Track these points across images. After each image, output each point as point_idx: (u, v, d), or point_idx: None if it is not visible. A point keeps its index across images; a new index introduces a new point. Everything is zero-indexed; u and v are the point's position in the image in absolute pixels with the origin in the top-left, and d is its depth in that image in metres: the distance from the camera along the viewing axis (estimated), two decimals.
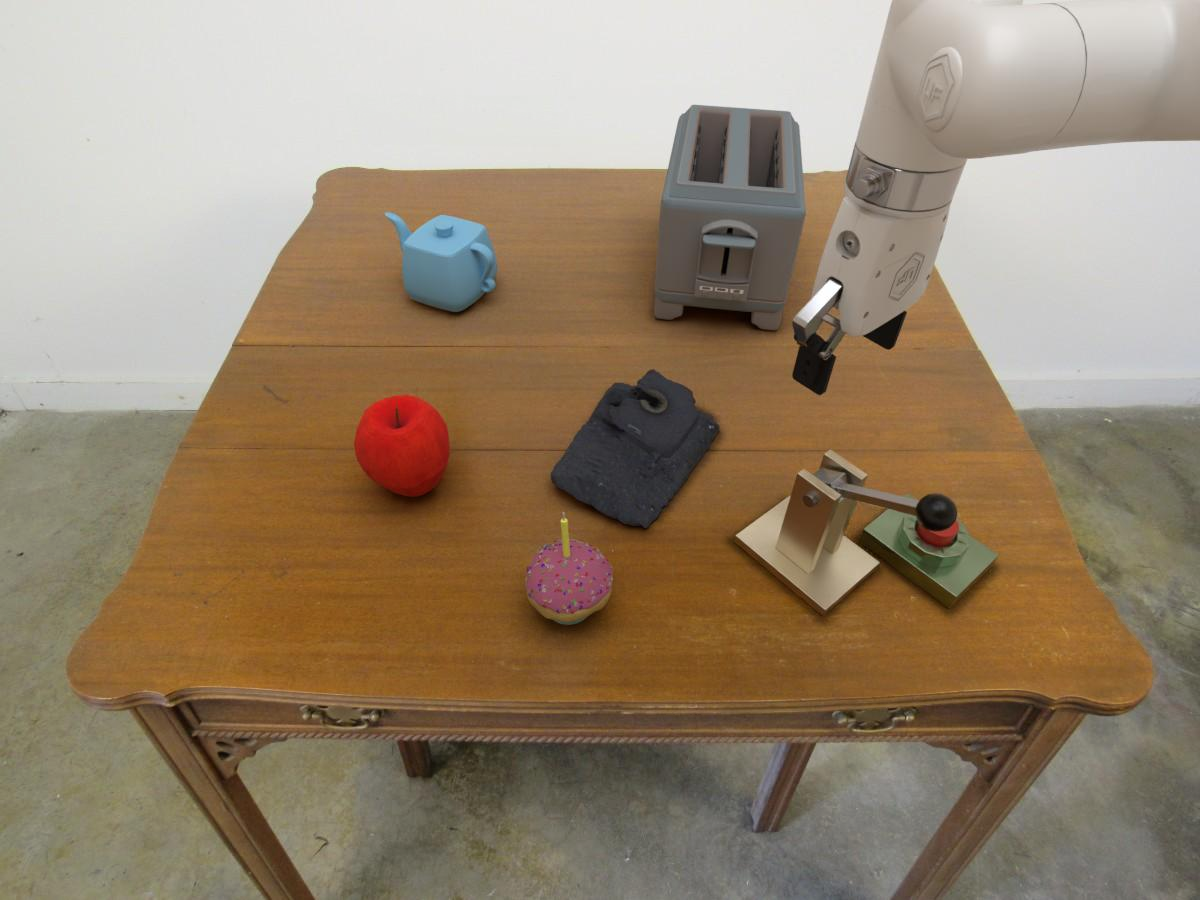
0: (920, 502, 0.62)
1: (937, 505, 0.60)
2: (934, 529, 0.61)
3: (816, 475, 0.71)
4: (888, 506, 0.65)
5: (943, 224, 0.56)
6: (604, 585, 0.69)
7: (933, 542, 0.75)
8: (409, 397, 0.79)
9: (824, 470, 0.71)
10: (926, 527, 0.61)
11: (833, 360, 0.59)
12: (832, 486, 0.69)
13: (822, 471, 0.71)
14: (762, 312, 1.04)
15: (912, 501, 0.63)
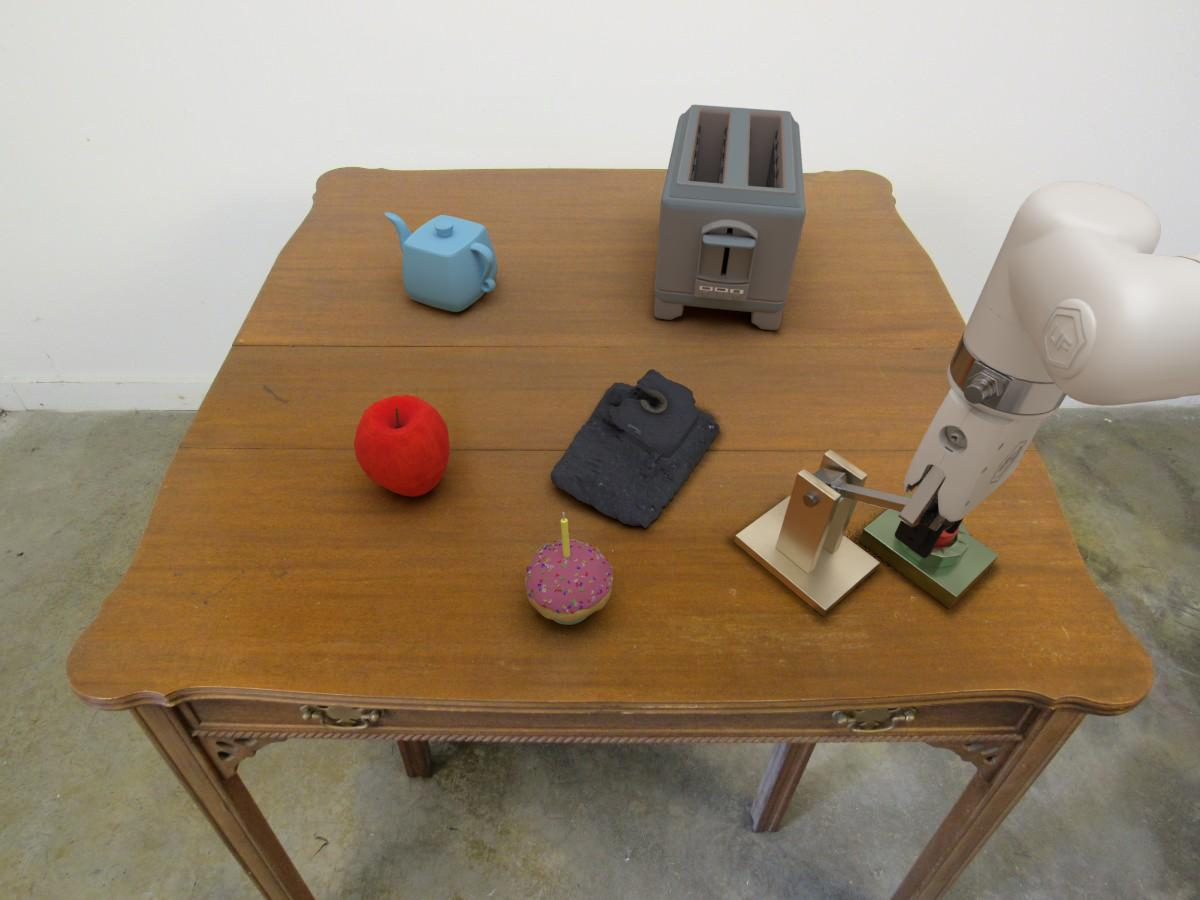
0: None
1: (937, 505, 0.60)
2: None
3: (816, 475, 0.71)
4: (888, 506, 0.65)
5: None
6: (604, 585, 0.69)
7: None
8: (409, 397, 0.79)
9: (824, 470, 0.71)
10: None
11: (942, 530, 0.59)
12: (832, 486, 0.69)
13: (822, 471, 0.71)
14: (762, 312, 1.04)
15: None
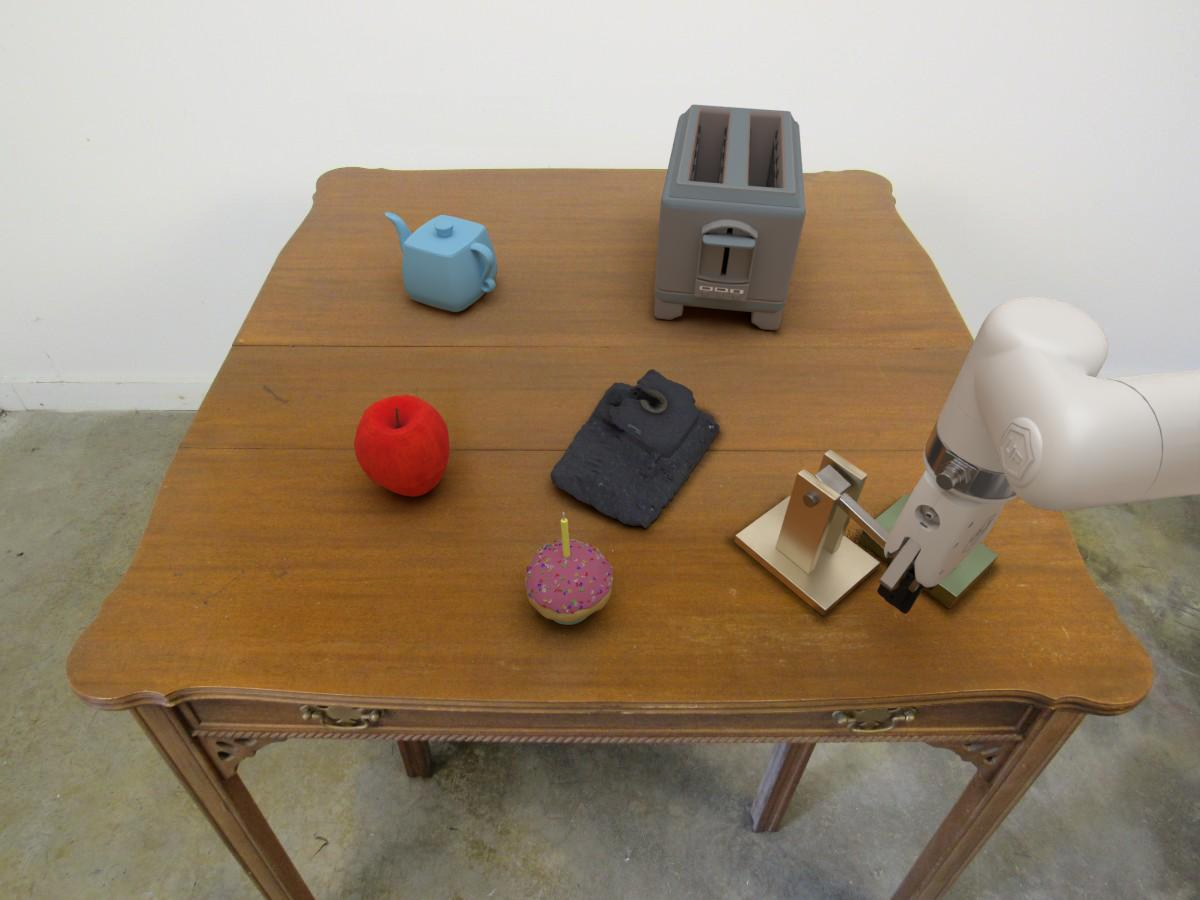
0: None
1: None
2: None
3: (824, 474, 0.70)
4: (879, 542, 0.68)
5: None
6: (604, 585, 0.69)
7: None
8: (409, 397, 0.79)
9: (832, 470, 0.70)
10: None
11: (920, 590, 0.64)
12: None
13: (830, 471, 0.70)
14: (762, 312, 1.04)
15: None
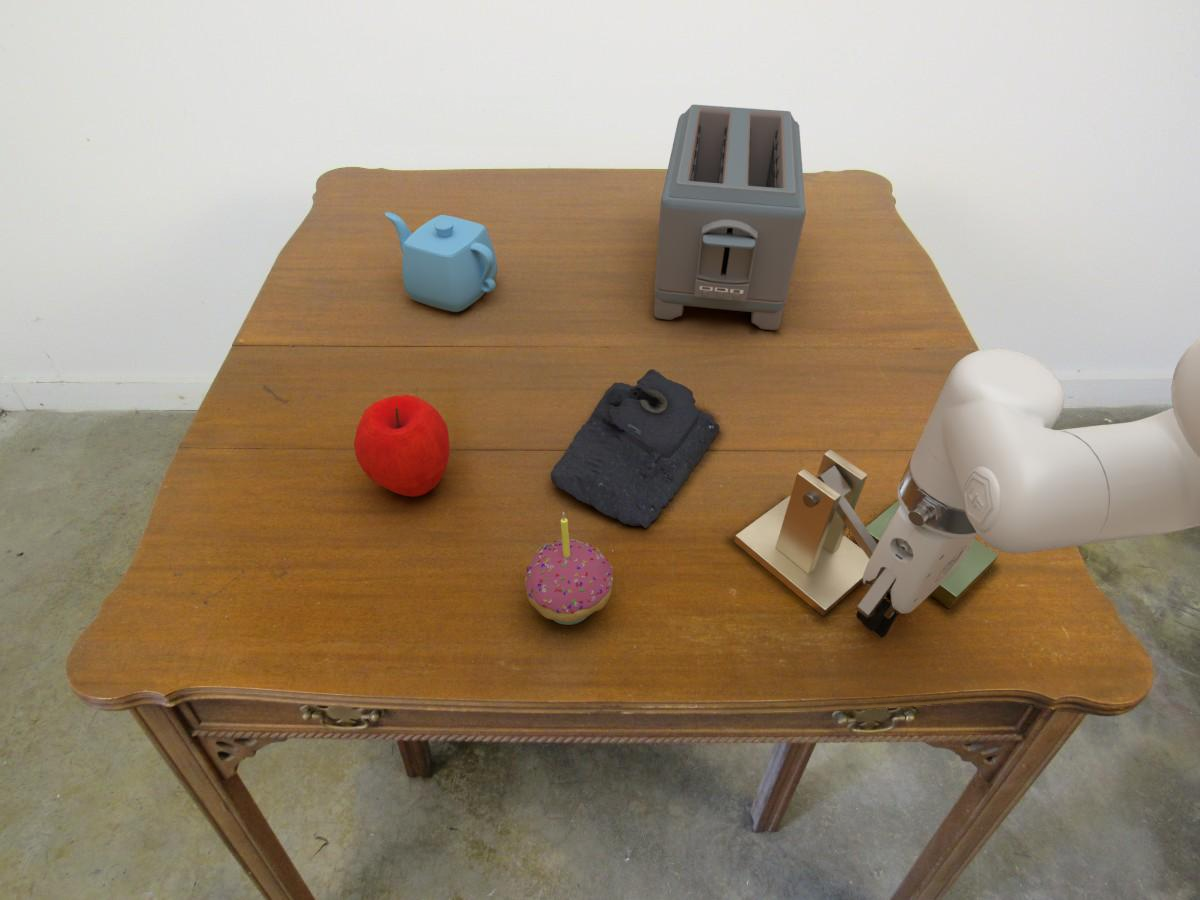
0: None
1: None
2: (885, 597, 0.70)
3: (828, 476, 0.69)
4: (865, 550, 0.70)
5: None
6: (604, 585, 0.69)
7: None
8: (409, 397, 0.79)
9: (836, 472, 0.70)
10: None
11: (895, 617, 0.68)
12: None
13: (834, 473, 0.70)
14: (762, 312, 1.04)
15: None
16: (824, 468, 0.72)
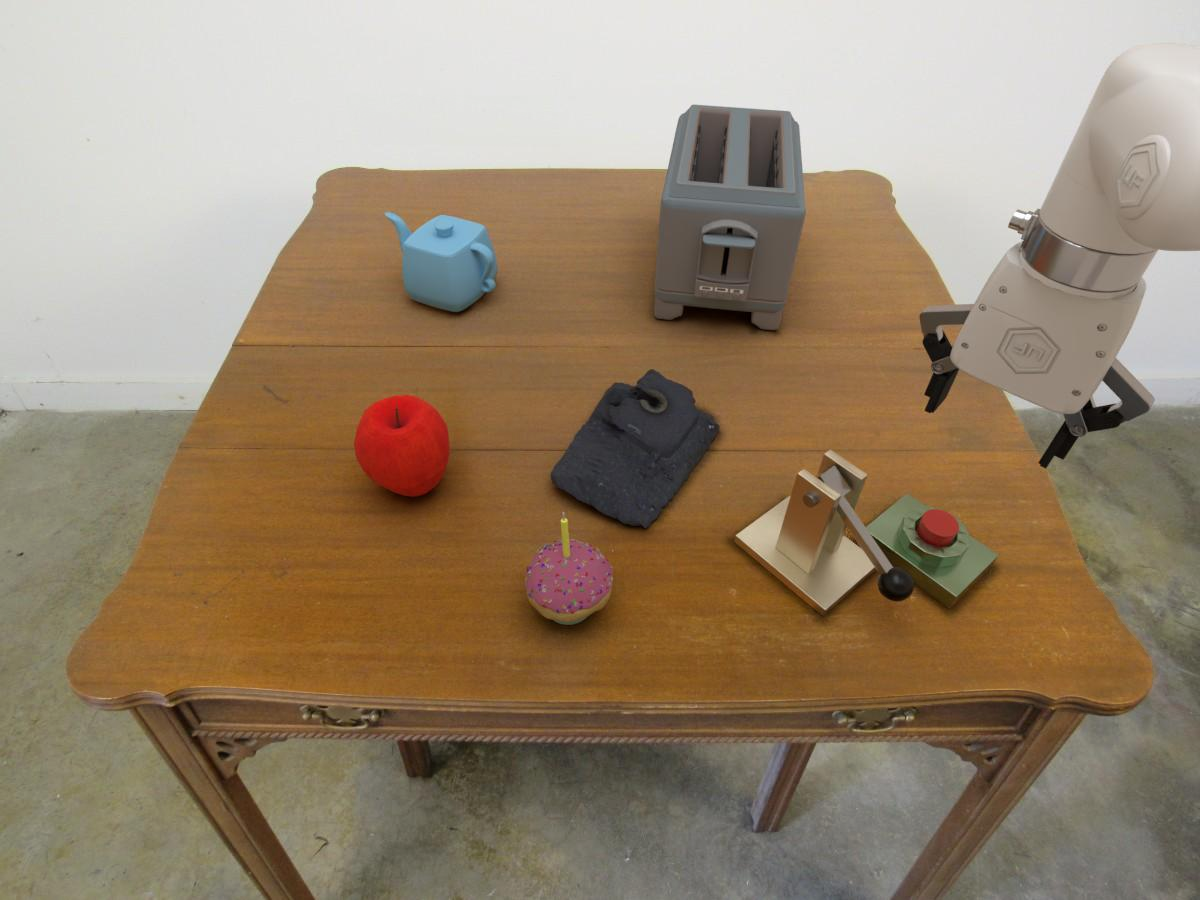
0: (894, 578, 0.68)
1: (905, 592, 0.68)
2: (885, 597, 0.70)
3: (828, 476, 0.69)
4: (865, 550, 0.70)
5: (1101, 335, 0.50)
6: (604, 585, 0.69)
7: (933, 542, 0.75)
8: (409, 397, 0.79)
9: (836, 472, 0.70)
10: (881, 592, 0.69)
11: (940, 380, 0.61)
12: None
13: (834, 473, 0.70)
14: (762, 312, 1.04)
15: (886, 563, 0.69)
16: (824, 468, 0.72)
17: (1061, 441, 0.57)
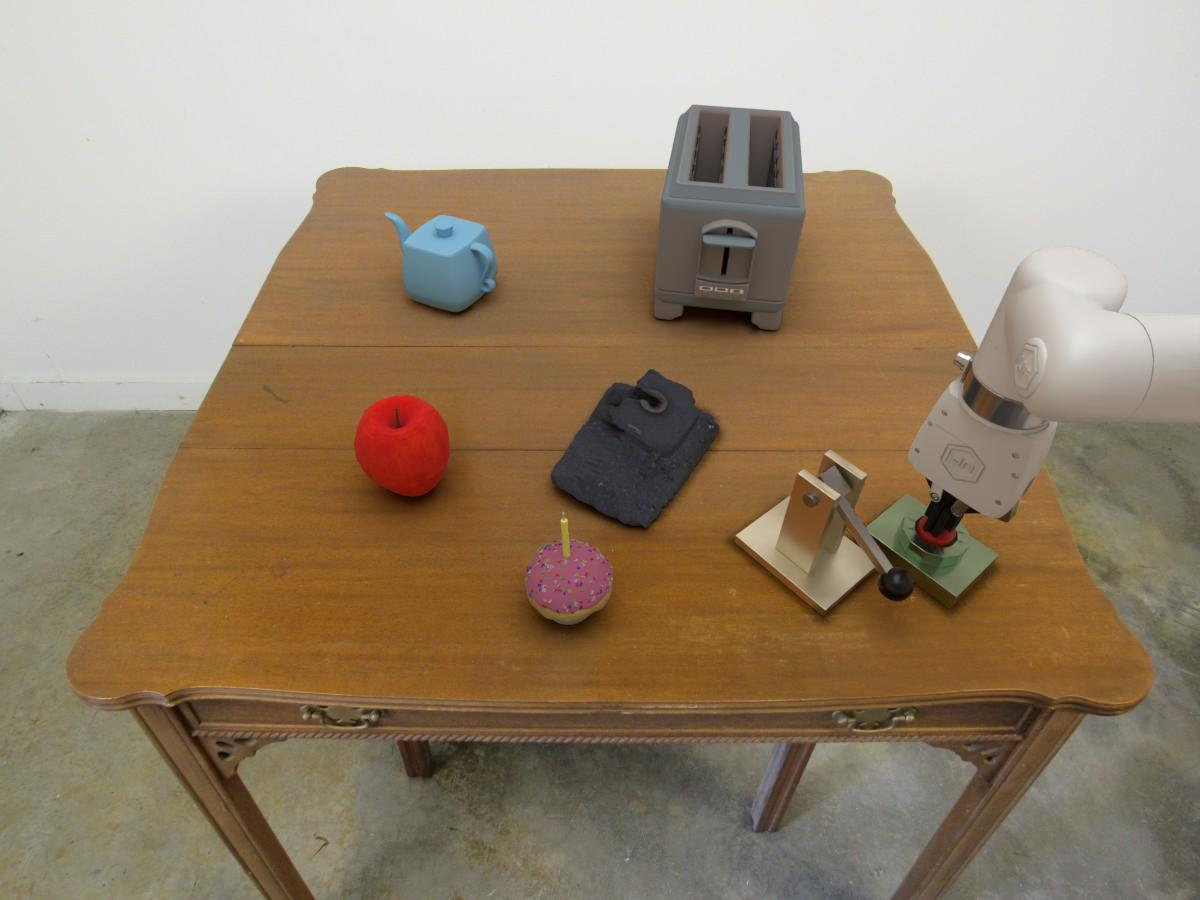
0: (894, 578, 0.68)
1: (905, 592, 0.68)
2: (885, 597, 0.70)
3: (828, 476, 0.69)
4: (865, 550, 0.70)
5: (1015, 461, 0.62)
6: (604, 585, 0.69)
7: None
8: (409, 397, 0.79)
9: (836, 472, 0.70)
10: (881, 592, 0.69)
11: (936, 507, 0.72)
12: None
13: (834, 473, 0.70)
14: (762, 312, 1.04)
15: (886, 563, 0.69)
16: (824, 468, 0.72)
17: (945, 518, 0.72)
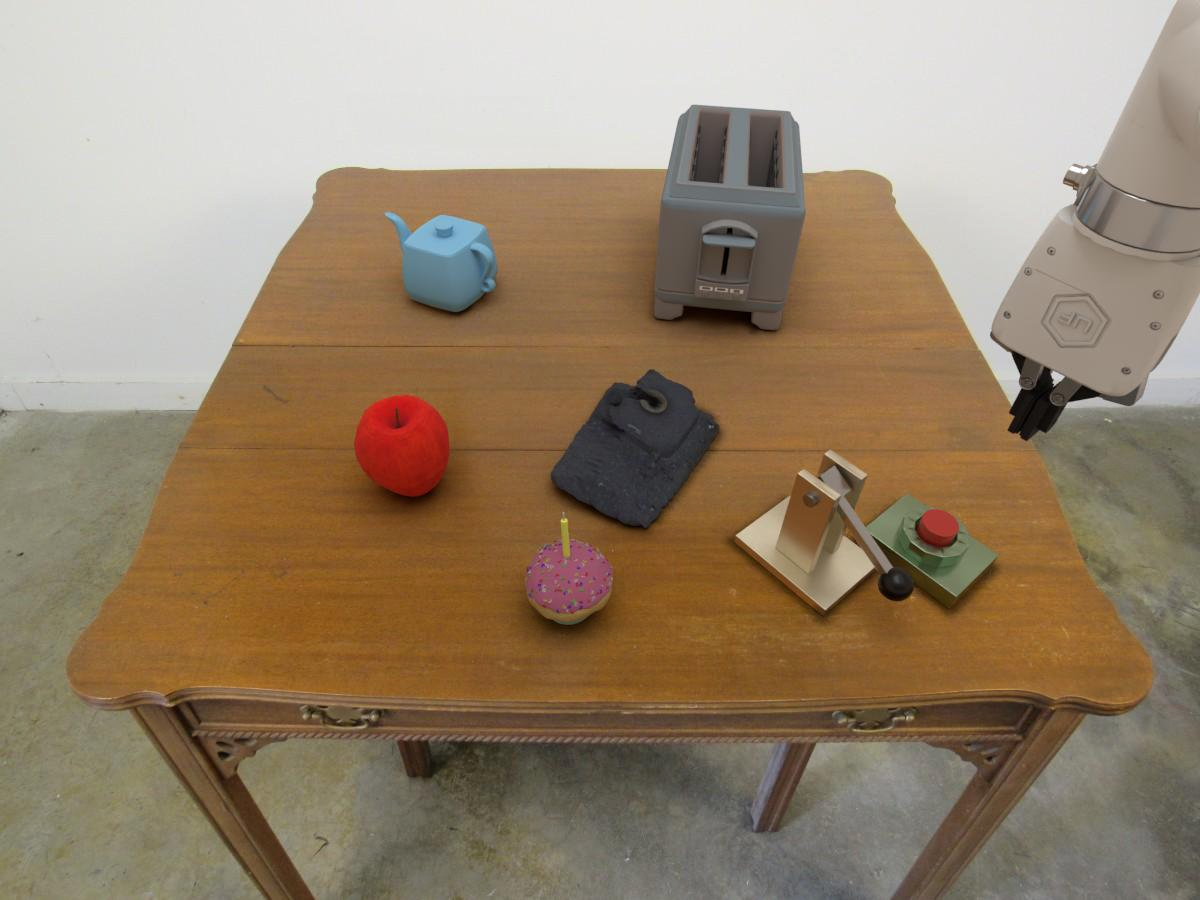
0: (894, 578, 0.68)
1: (905, 592, 0.68)
2: (885, 597, 0.70)
3: (828, 476, 0.69)
4: (865, 550, 0.70)
5: (1157, 304, 0.45)
6: (604, 585, 0.69)
7: (933, 542, 0.75)
8: (409, 397, 0.79)
9: (836, 472, 0.70)
10: (881, 592, 0.69)
11: (1028, 396, 0.55)
12: None
13: (834, 473, 0.70)
14: (762, 312, 1.04)
15: (886, 563, 0.69)
16: (824, 468, 0.72)
17: (1041, 410, 0.55)
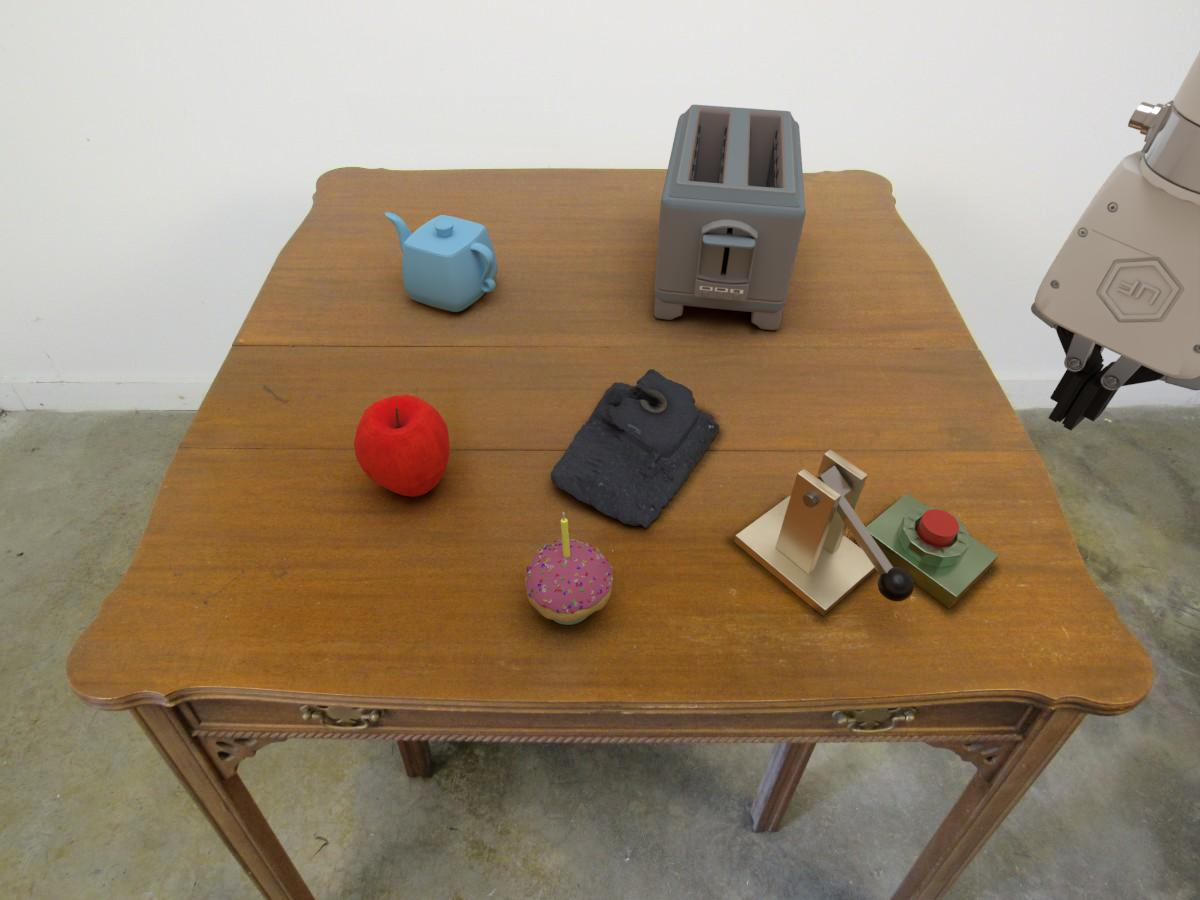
0: (894, 578, 0.68)
1: (905, 592, 0.68)
2: (885, 597, 0.70)
3: (828, 476, 0.69)
4: (865, 550, 0.70)
5: None
6: (604, 585, 0.69)
7: (933, 542, 0.75)
8: (409, 397, 0.79)
9: (836, 472, 0.70)
10: (881, 592, 0.69)
11: (1075, 379, 0.48)
12: None
13: (834, 473, 0.70)
14: (762, 312, 1.04)
15: (886, 563, 0.69)
16: (824, 468, 0.72)
17: (1090, 395, 0.48)
